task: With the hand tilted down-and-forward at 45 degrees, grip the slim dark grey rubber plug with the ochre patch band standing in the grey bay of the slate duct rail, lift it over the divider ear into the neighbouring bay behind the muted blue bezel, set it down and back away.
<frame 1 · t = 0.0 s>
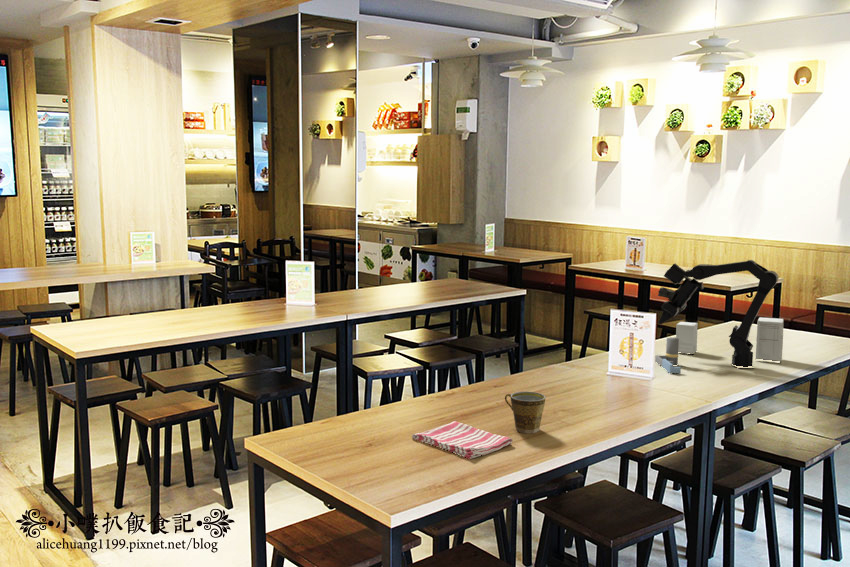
hand: (662, 321, 309), 15 cm above the table, tool tilted 35°, fingers open, 9 cm apart
supplement box 2: (768, 361, 307), on the table
duct rail: (667, 367, 294), on the table
dish towel: (461, 444, 209), on the table
supplement box: (686, 353, 320), on the table
ceramic cup: (522, 429, 220), on the table
cord plug: (671, 364, 299), on the table
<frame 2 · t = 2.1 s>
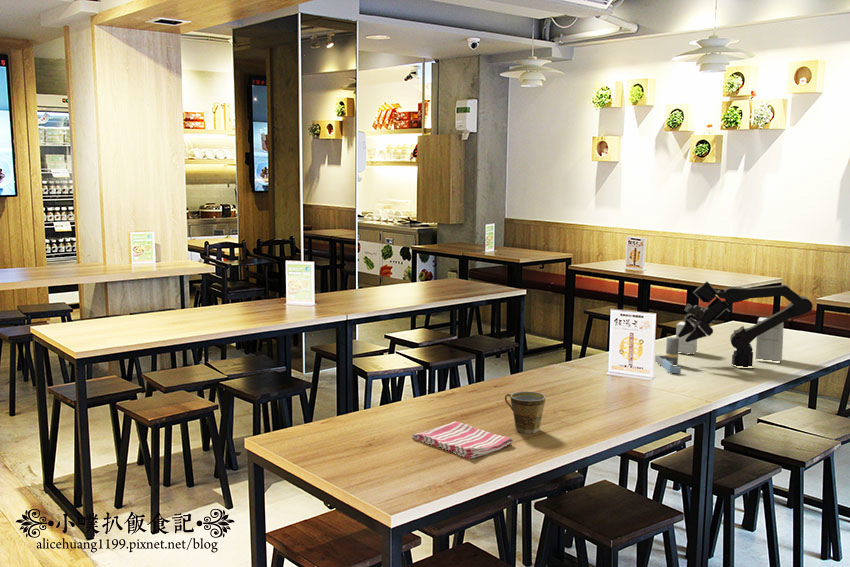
hand: (682, 339, 297), 10 cm above the table, tool tilted 45°, fingers open, 9 cm apart
nothing on the table moved.
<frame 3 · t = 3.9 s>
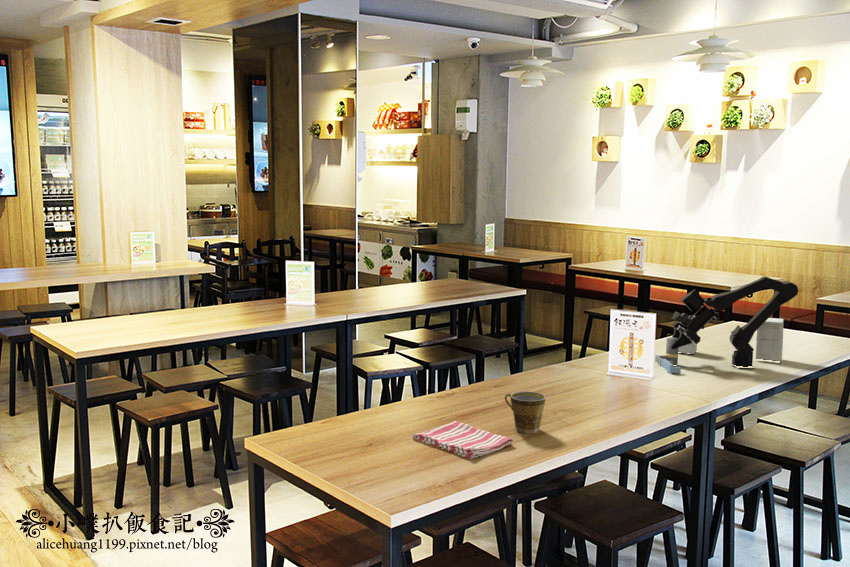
hand: (670, 347, 298), 7 cm above the table, tool tilted 45°, fingers closed on cord plug, 4 cm apart
cord plug: (671, 364, 299), on the table, touching gripper
everything else where it was.
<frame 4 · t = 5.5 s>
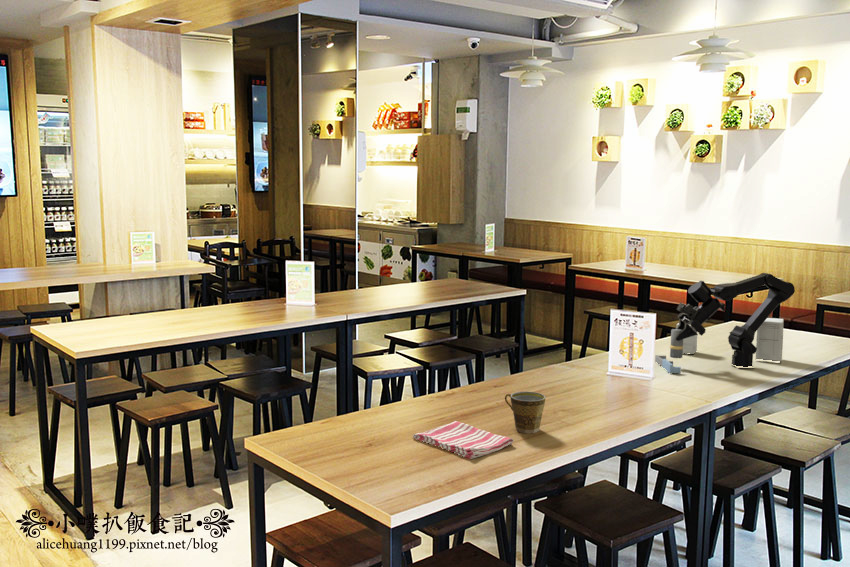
hand: (674, 338, 292), 12 cm above the table, tool tilted 45°, fingers closed on cord plug, 4 cm apart
cord plug: (676, 356, 293), point 4 cm above the table, touching gripper
everything else where it was.
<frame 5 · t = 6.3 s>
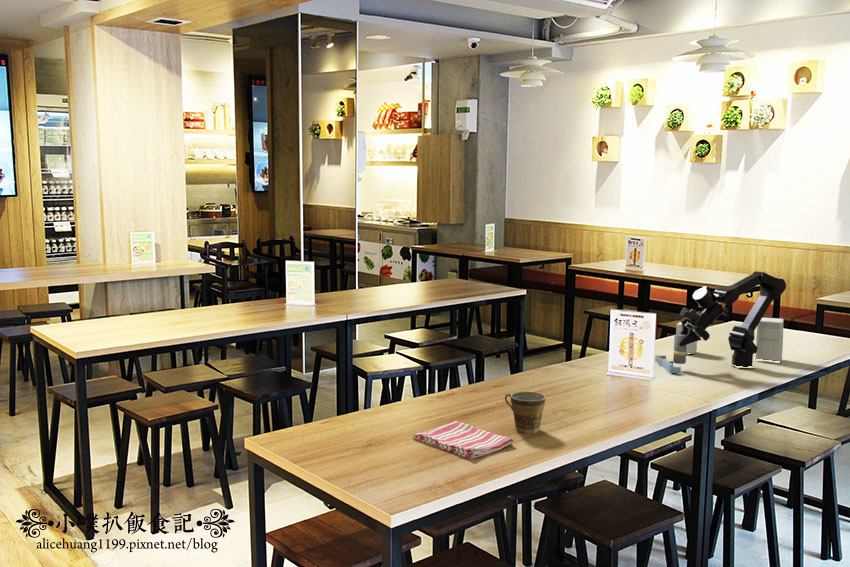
hand: (677, 344, 288), 10 cm above the table, tool tilted 45°, fingers closed on cord plug, 4 cm apart
cord plug: (679, 362, 289), point 3 cm above the table, touching gripper
everything else where it was.
when the fingers open (8 cm above the table, at t = 7.1 s): cord plug stays where it is, on the table.
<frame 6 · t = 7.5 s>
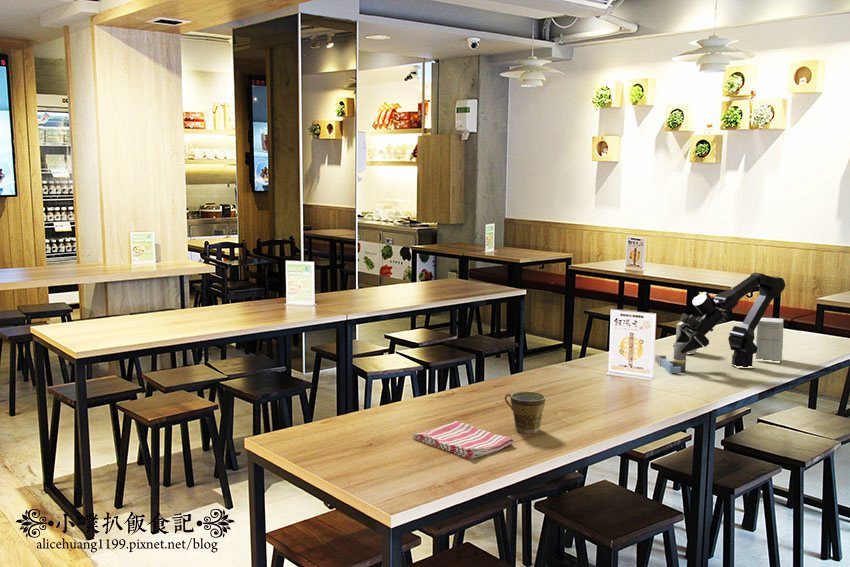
hand: (677, 349, 288), 8 cm above the table, tool tilted 45°, fingers open, 9 cm apart
cord plug: (679, 370, 289), on the table
everything else where it was.
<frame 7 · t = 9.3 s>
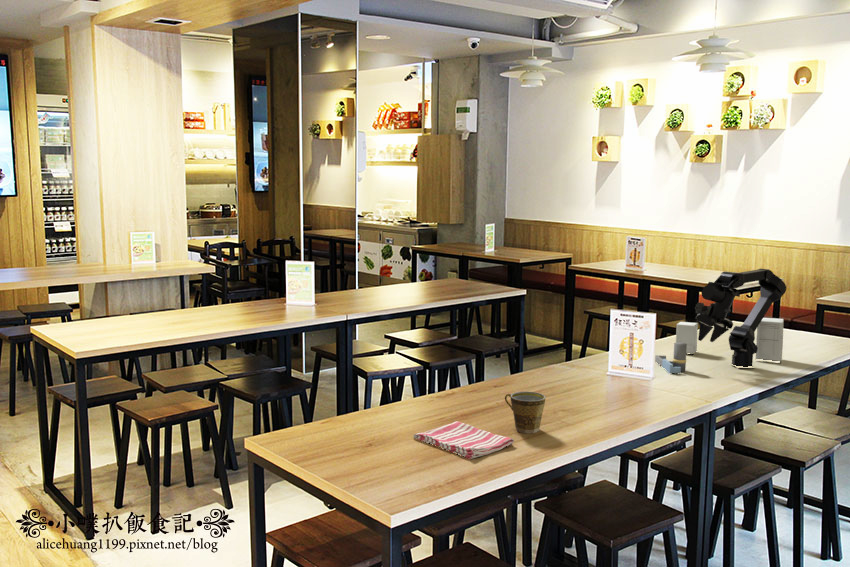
hand: (705, 341, 290), 11 cm above the table, tool tilted 20°, fingers open, 9 cm apart
nothing on the table moved.
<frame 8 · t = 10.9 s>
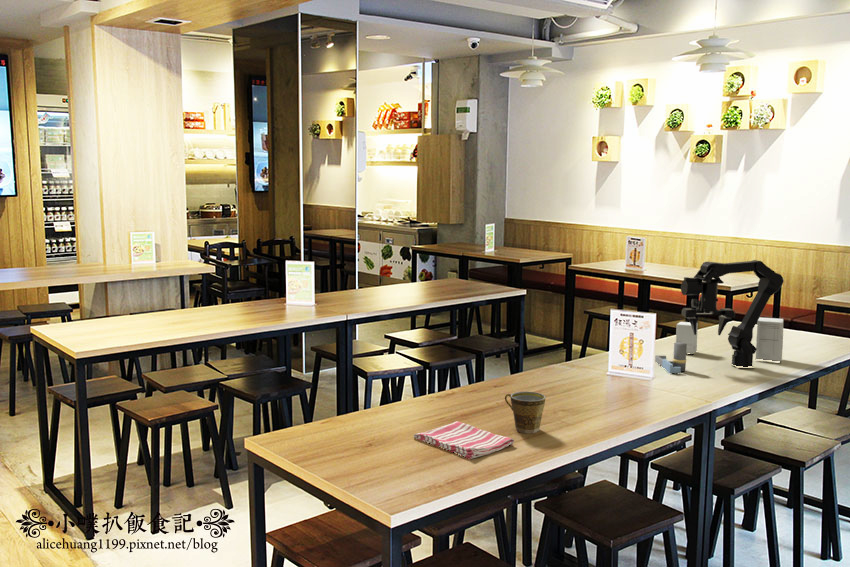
hand: (707, 335, 292), 13 cm above the table, tool pointing down, fingers open, 9 cm apart
nothing on the table moved.
at the end: cord plug inside the target area (0.4 cm from its centre), on the table; cord plug tilted 0°; the gripper is holding nothing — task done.
